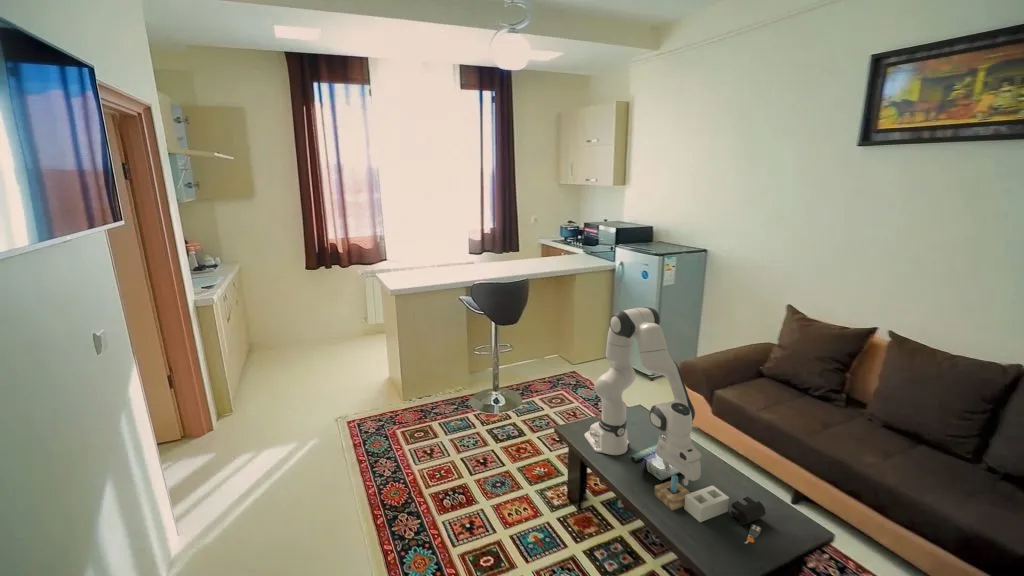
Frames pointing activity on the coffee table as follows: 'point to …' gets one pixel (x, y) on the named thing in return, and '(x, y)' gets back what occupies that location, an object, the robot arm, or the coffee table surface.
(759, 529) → the key chain
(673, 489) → the pin
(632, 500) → the coffee table surface
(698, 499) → the white cinder block
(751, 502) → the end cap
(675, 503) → the mount block
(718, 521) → the coffee table surface
